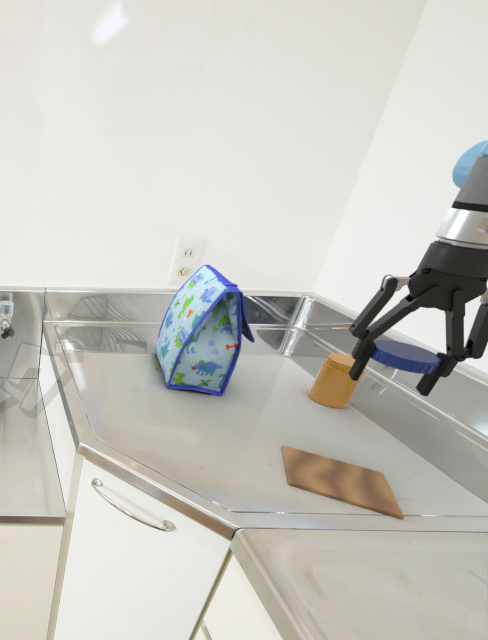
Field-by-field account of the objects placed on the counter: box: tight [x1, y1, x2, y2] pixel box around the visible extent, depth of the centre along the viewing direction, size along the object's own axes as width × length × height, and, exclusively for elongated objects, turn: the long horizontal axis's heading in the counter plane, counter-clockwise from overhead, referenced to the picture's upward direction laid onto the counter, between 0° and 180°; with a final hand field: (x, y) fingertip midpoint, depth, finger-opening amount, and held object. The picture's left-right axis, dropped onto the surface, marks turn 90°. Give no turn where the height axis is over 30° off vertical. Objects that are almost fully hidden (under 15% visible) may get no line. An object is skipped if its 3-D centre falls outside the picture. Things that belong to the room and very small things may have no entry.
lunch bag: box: [154, 264, 256, 397], centre depth 104 cm, size 22×17×26 cm
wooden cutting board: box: [281, 444, 405, 520], centre depth 76 cm, size 16×12×1 cm
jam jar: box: [307, 353, 367, 409], centre depth 99 cm, size 8×8×11 cm
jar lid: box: [370, 339, 442, 375], centre depth 67 cm, size 8×8×2 cm
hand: (386, 384), depth 70 cm, fingers closed on jar lid, 8 cm apart
